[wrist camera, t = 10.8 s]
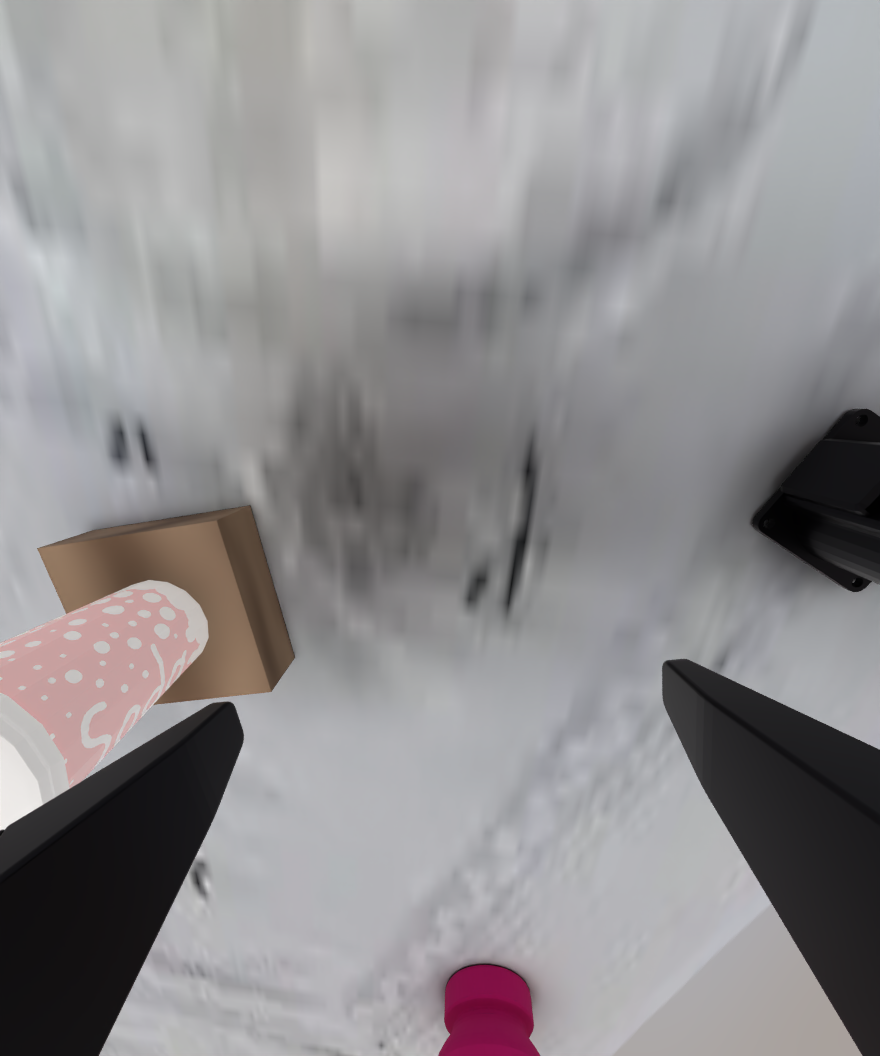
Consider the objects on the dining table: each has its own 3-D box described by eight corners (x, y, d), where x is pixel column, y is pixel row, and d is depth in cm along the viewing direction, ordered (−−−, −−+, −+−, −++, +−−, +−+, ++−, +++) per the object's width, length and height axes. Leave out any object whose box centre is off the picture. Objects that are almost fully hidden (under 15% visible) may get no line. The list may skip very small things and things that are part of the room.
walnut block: (250, 505, 21) (216, 520, 18) (294, 657, 24) (271, 691, 21) (92, 530, 22) (37, 548, 19) (150, 674, 25) (109, 709, 22)
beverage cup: (185, 699, 21) (-292, 1196, 8) (79, 628, 20) (-656, 1048, 7) (248, 618, 20) (-212, 1062, 6) (136, 538, 19) (-662, 854, 6)
